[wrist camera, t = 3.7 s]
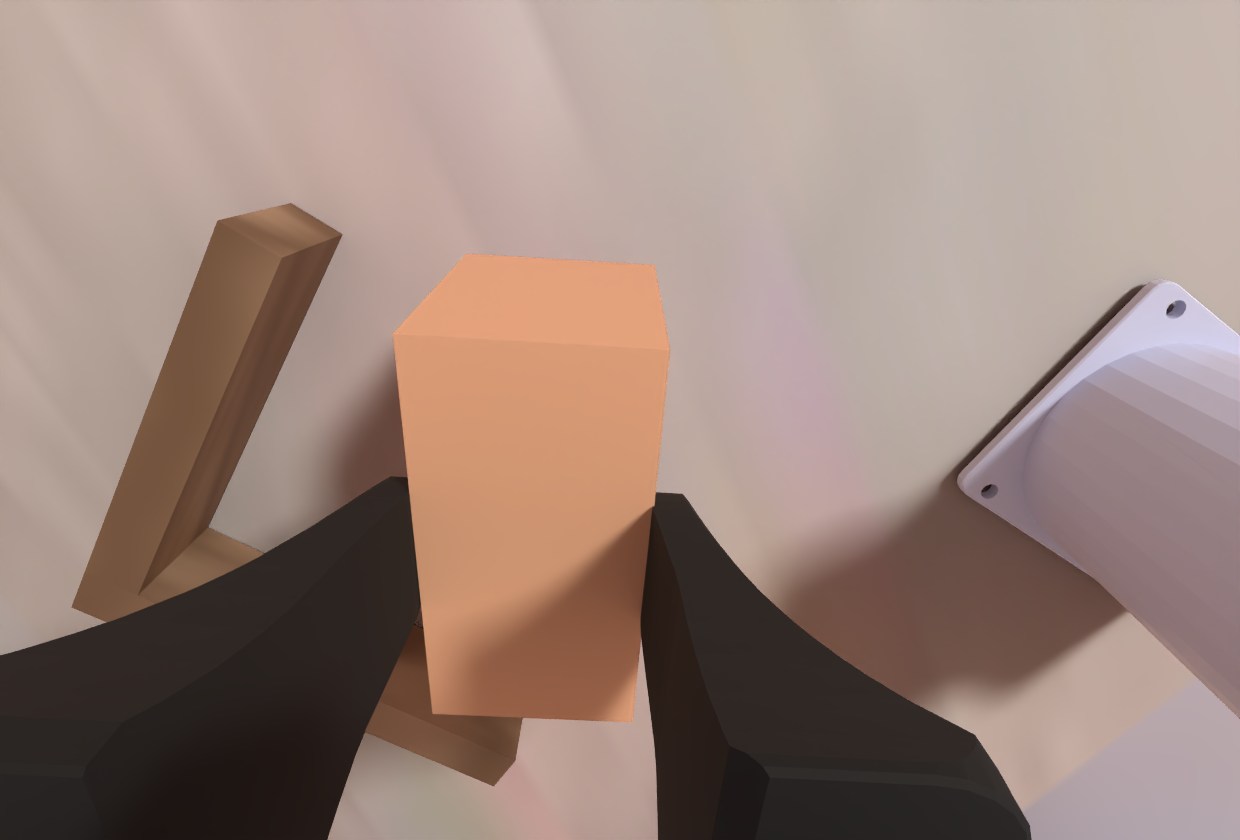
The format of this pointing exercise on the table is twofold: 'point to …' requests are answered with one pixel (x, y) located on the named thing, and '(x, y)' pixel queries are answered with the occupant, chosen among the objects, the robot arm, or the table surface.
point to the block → (533, 480)
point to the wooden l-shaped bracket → (211, 447)
